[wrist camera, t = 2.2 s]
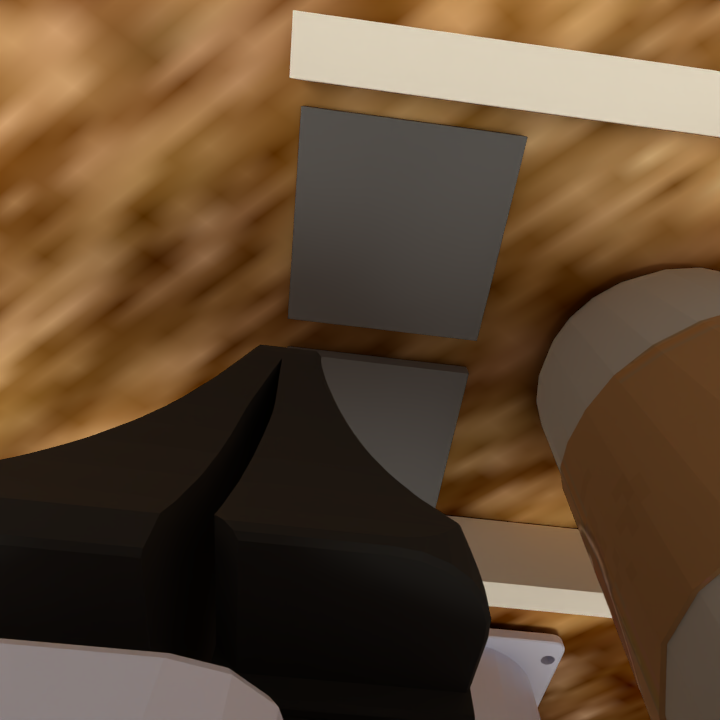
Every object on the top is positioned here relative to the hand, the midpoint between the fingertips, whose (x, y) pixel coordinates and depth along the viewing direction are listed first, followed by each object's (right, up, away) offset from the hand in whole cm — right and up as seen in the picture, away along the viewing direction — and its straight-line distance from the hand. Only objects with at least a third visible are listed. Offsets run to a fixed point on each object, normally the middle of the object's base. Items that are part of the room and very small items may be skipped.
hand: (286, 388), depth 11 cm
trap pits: (+2, +1, +3) cm, 4 cm away
